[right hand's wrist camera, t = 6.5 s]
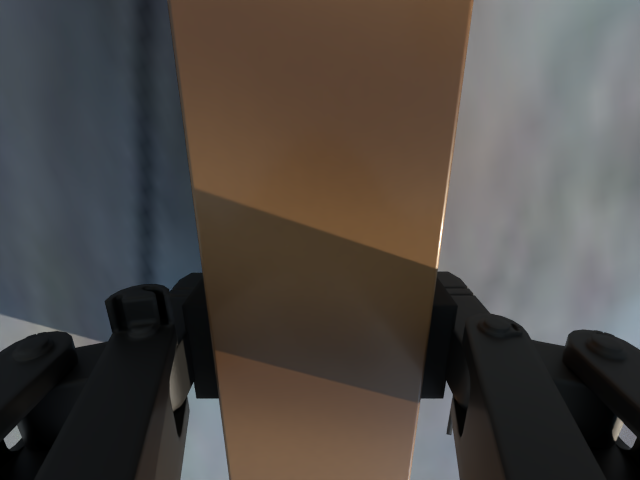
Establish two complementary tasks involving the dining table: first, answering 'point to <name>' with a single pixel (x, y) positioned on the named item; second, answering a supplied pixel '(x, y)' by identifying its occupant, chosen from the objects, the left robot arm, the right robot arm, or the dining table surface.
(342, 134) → the bar
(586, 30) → the dining table surface
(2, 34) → the dining table surface
